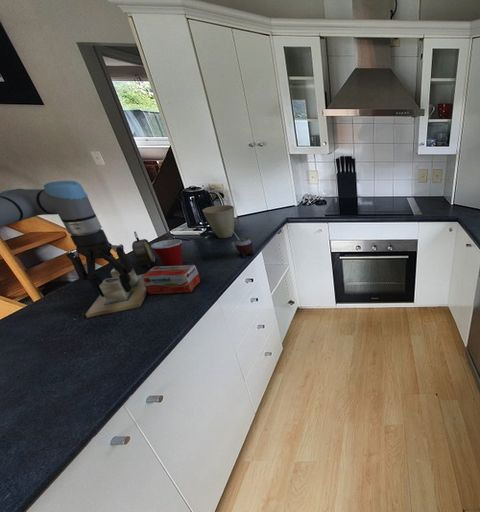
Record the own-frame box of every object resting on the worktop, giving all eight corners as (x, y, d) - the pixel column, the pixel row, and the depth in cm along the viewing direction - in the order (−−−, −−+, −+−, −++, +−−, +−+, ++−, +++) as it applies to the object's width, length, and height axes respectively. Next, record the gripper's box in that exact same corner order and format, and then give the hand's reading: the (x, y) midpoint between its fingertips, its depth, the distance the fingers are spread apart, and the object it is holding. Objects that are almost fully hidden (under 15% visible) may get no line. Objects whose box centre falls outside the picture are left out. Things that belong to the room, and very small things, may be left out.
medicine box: (201, 281, 111) (195, 264, 107) (191, 292, 103) (185, 274, 100) (160, 283, 109) (153, 266, 105) (147, 295, 101) (139, 276, 98)
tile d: (108, 302, 94) (98, 285, 91) (113, 295, 98) (104, 278, 95) (126, 299, 96) (118, 282, 93) (130, 292, 100) (122, 275, 97)
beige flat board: (87, 317, 90) (84, 313, 89) (113, 282, 109) (111, 279, 108) (140, 306, 95) (138, 303, 94) (156, 275, 114) (154, 271, 114)
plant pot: (245, 232, 158) (239, 206, 151) (225, 242, 146) (217, 213, 139) (225, 229, 162) (218, 203, 155) (203, 238, 150) (195, 210, 143)
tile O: (117, 288, 102) (109, 271, 99) (122, 282, 106) (114, 265, 103) (134, 285, 104) (127, 269, 101) (138, 279, 108) (131, 263, 105)
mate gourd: (256, 252, 136) (250, 223, 129) (249, 259, 129) (242, 229, 122) (242, 251, 136) (235, 223, 129) (233, 258, 129) (226, 229, 122)
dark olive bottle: (154, 268, 119) (140, 234, 112) (139, 271, 117) (123, 237, 109) (157, 259, 127) (144, 226, 120) (142, 261, 125) (128, 228, 118)
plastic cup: (193, 260, 127) (185, 236, 121) (184, 271, 117) (175, 246, 112) (166, 262, 124) (157, 238, 119) (155, 274, 115) (144, 248, 110)
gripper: (37, 240, 79) (76, 305, 89) (120, 231, 87) (147, 291, 97) (51, 232, 85) (86, 293, 96) (128, 223, 93) (152, 281, 103)
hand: (117, 292), depth 96 cm, fingers open, 6 cm apart
